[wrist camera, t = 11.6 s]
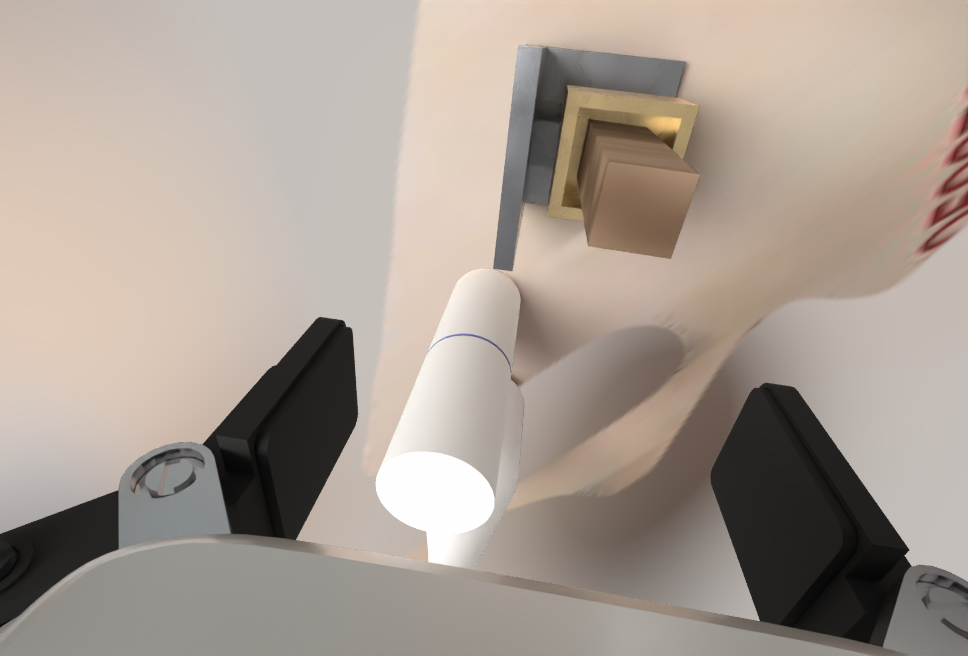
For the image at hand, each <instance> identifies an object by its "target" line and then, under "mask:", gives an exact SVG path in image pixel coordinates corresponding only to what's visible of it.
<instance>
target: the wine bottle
mask: <svg viewBox="0 0 968 656" xmlns="http://www.w3.org/2000/svg"><path fill="white" fill-rule="evenodd" d="M523 415H524V401H523V396H522V394H521V391H520V389H519V388H518V386H517V385H516V384H515V383H514V382H513V381H512V380H511V381H510V389H509V396H508V404H507V412H506V419H505V427H504V435H503V442H502V450H501V458H500V465H499V473H498V480H497V488H496V496H495V503H494V509H493V511H492V514H491V515H490V517H489V518H488V519H487V521H485V522H484V523H483V524H482V525H480V526H479V527H477V528H475V529H473V530H470V531H466V532H463V533H456V534H439V533H431V532H427V543H428V554H429V555H428V562H431V563H437V564H443V565H449V566H455V567H461V568H466V569H472V570H475V567H476V565H477V563H478V561H479V559H480V557H481V555H482V553H483V551H484V549H485V548H486V545H487V544H488V542H489V540H490V538H491V536H492V534H493V532H494V530H495V528H496V526H497V524H498V523H499V521H500V519H501V517H502V515H503V514H504V512H505V510H506V508H507V506H508V505H509V503H510V501H511V498H512V496H513V494H514V492H515V489H516V486H517V483H518V475H519V474H518V473H519V463H520V451H521V438H522V427H523Z"/></svg>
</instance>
